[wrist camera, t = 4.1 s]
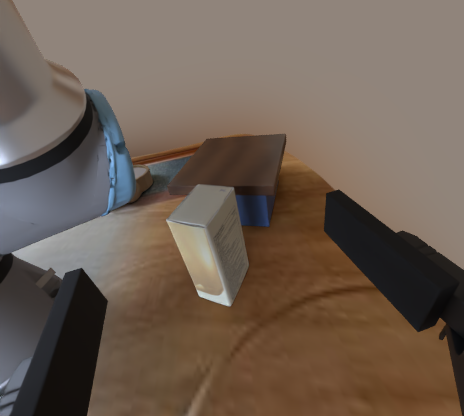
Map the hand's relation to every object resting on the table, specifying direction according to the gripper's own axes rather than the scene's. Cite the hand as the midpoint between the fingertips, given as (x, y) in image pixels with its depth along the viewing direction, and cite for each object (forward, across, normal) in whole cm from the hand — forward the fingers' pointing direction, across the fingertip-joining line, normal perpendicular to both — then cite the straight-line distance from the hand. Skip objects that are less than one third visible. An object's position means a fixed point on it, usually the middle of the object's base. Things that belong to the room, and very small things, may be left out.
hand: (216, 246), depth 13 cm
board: (+26, +7, -8) cm, 28 cm away
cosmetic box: (+10, 0, -16) cm, 18 cm away
